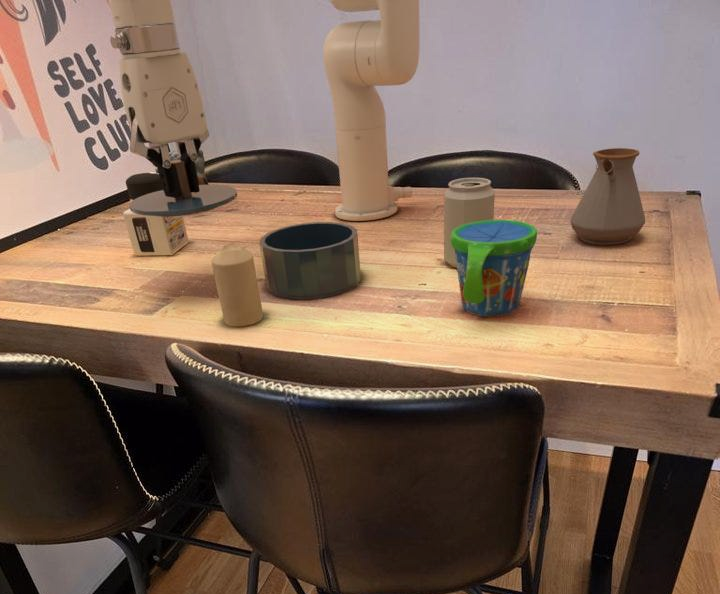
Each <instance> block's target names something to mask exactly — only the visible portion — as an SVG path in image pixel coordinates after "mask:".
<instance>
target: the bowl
mask: <svg viewBox="0 0 720 594" xmlns="http://www.w3.org/2000/svg"><path fill="white" fill-rule="evenodd" d="M358 235H359V234H358V229H357V228H356V227H354V226H352V225H350V224H347V223H342V222H336V221H335V222H333V221H312V222H303V223H297V224H292V225H287V226H283V227H280V228H276V229H273V230H271V231H269V232H266V233H265V234H264V235H263V236H262V237H260V239H259V243H258V244H259V250H260V257H261V262H262V268H263V274H264V280H265V286H266V289H267V291H268V292H269V293H270V294H271V295H273V296H275V297H278V298H281V299H287V300H295V301H297V300H299V301H300V300H301V301H303V300H304V301H305V300H317V299H324V298H330V297H335V296H337V295H341V294H343V293H346V292H348V291H351V290H352V289H354V288H355V287H357V286H358V285H359V284H360V282H361V279H362V275H361V274H362V272H361V262H360V248H359V237H358Z"/></svg>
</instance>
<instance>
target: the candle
mask: <svg viewBox="0 0 720 594" xmlns="http://www.w3.org/2000/svg"><path fill="white" fill-rule="evenodd" d="M210 263H211V266H212V271H213V276H214V281H215V285H216V290H217V294H218V299H219V303H220V310H221V313H222V317H223V321H224V323H225V324H226V325H227V326H230V327H247V326H251V325H254V324H257V323H258V322H260V321H262V319H263V318H264V312H263V305H262V301H261V300H262V299H261V294H260V289H259V282H258V277H257V271H256V264H255V260H254V254H253V253H252V252H251V251H249V249H247V248H245V246H243V245H240V246H239V245H237V244H236V243H234V242H230V243H227V244H225V245H223V246H222V248H221V249H220V250H219V251H217V252H216V253H215V254H214V255H213V257H212V258H211V260H210Z"/></svg>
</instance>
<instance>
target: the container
mask: <svg viewBox="0 0 720 594" xmlns="http://www.w3.org/2000/svg"><path fill="white" fill-rule="evenodd" d="M125 185H126V190H127V192H128V196H129V200H130V203H131V202H132V201H133V200H134V199H136V198H138V197H141V196H143V195H146V194H149V193H153V192H157V191H161V190H163V189H162V185H161V181H160V177H159V174H158V173H156V171H147V172H140V173H135V174H132V175H130V176H129V177H127V178H126V180H125ZM122 216H123V219H124V223H125V226H126V230H127V234H128V237H129V241H130V245H131V248H132V251H133V255H134V256H136V257H138V256H141V257H142V256H143V257H145V256H172V255H174V254H175V253H177V252H178V251H179V250H181V249H182V248H183V247H185V246H186V245H187V244H188V243H189V237H188V232H187V229H186V224H185V219H184V215H183V216H170V217H160V216H147V215H140V214H136V213H133V212H132V211H131V210H130V208H128V209H126V210H125V211H123V213H122Z"/></svg>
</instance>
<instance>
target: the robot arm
mask: <svg viewBox="0 0 720 594" xmlns="http://www.w3.org/2000/svg"><path fill="white" fill-rule="evenodd" d="M329 2H330V4H331V6H332V7H333V8H334V9H336V10H338V11H339V12H340V11H341V12H345V13H357V12H359V13H360V12H370V11H379V15H380V16H379V17H380V19H376V20H358V21H349V22H344V23H340V24H337V26H335V27H333V28H332V29H331V30H330V31H329V32H328V33H327V35H326V37H325V39H324V42H323V47H322V60H323V66H324V71H325V74H326V78H327V81H328V85H329V89H330V96H331V101H332V108H333V117H334V127H335V128H334V130H335V139H336V150H337V151H336V152H337V163H338V173H339V185H340V197H341V204H340V205H338V206H336V207H335V209H334V214H335V217H336V218H338V219H340V220H343V221H351V222H363V221H365V222H366V221H374V220H375V221H376V220H379V219H384V218H388V217H390V216H392V215H394V214H396V212H398V204H397V203H396V202H398V200H399V199H407V198H412V196H413V189H412V187H411V186H405V187H401V186H397V187H394V186H391V185H389V167H388V146H387V143H388V141H387V126H386V125H387V122H386V121H387V120H386V110H385V107H384V103H383V100H382V99H381V96H380V94H379V92H378V90H377V89H376V87H383V86H384V87H385V86H388V87H389V86H401V85H405V84H407V83H408V82H410V81H411V80H412V79H413V78H414V76H415V75H416V72H417V69H418V65H419V60H420V48H421V47H420V43H421V42H420V39H421V38H420V33H421V32H420V0H329ZM108 4H109V9H110V12H111V16H112V20H113V24H114V28H115V29H114V32H115V34H114V35H111V36H110V45H111V46H112V48H113V49H119V52H120V55H121V57H122V58H121V59H119V60H118V65H119V77H120V79H119V80H120V86H121V87H120V88H121V95H122V101H123V105H124V111H125V115H126V120H127V124H128V127H129V131H130V141H129V151H130V152H131V154H134V155H137V156H140V157H143V158H145V159H146V160H147V161H149V163H151V165H152V166H153V167H154V168H156V169H157V168H158V172H159V177H160V181H161V185H162V189H163V191H164V193H165V196H167V197H173V198H179V197H181V191H180V186H179V182H178V177H177V173H176V169H175V167H171V161H170V156H169V152H170V150H169V146H168V144H171V143H175V146H176V150H178V154H179V157H180V160H185V164H186V169H187V173H188V178H189V183H190V187H191V192H194V193H197V192H199V191H200V189H199V184H198V176H197V171H196V167H195V162H196V161H197V158H198V157H197V153H198V151H199V149H201V146H202V144H204V143H205V141H206V140H207V139H208V138H209V137H210V131H209V130H208V122H207V118H206V111H205V108H204V104H203V99H202V96H201V91H200V88H199V85H198V81H197V78H196V74H195V72H194V69H193V66H192V63H191V61H190V58H189V56H188V54H187V52H186V51H183V52H182V51H181V46H180V41H179V37H178V32H177V26H176V23H175V17H174V12H173V7H172V1H171V0H108ZM146 144H148V146H146Z"/></svg>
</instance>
